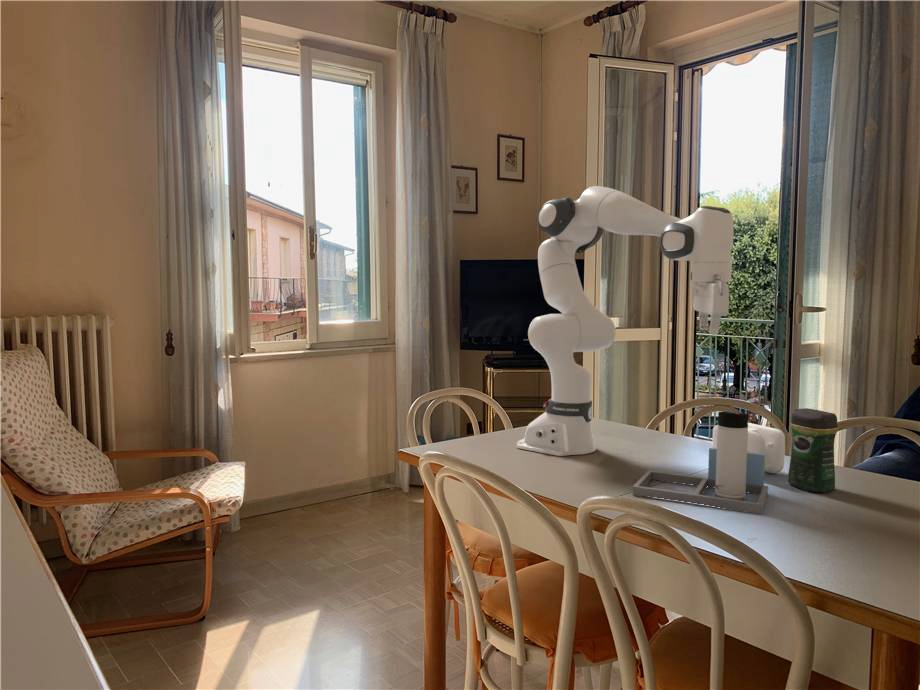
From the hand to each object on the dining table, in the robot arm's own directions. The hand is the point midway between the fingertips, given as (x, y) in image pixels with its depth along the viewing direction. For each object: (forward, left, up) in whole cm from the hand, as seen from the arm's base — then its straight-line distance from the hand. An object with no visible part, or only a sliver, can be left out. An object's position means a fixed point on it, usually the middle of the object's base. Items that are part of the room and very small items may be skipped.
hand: (708, 332), depth 167 cm
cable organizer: (+9, +11, -36) cm, 39 cm away
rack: (+2, -15, -36) cm, 39 cm away
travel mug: (+8, -15, -36) cm, 40 cm away
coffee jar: (+24, +3, -36) cm, 43 cm away
